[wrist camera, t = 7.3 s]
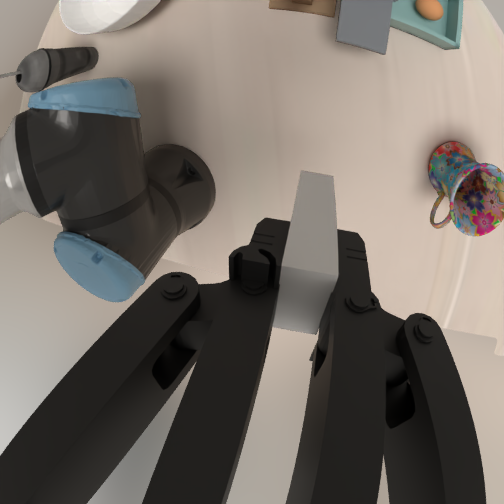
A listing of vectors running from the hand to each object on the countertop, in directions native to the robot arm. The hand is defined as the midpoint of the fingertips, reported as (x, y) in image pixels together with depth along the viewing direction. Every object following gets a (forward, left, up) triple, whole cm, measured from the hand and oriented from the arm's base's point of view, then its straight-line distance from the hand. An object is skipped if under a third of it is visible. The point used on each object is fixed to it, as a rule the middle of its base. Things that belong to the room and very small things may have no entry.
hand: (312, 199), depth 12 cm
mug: (+19, -2, -25) cm, 32 cm away
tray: (+8, +20, -25) cm, 33 cm away
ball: (+11, +20, -22) cm, 31 cm away
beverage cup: (-40, +9, -25) cm, 48 cm away
